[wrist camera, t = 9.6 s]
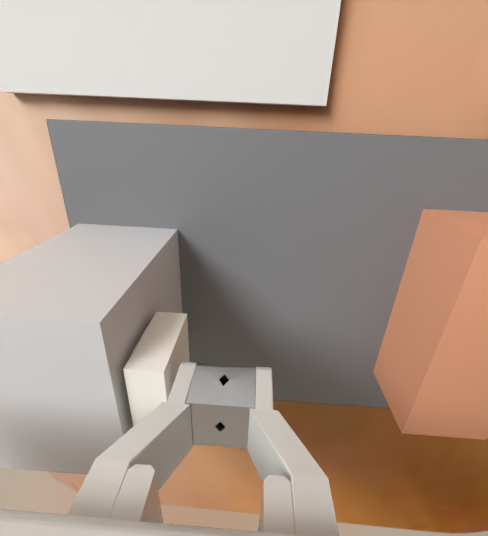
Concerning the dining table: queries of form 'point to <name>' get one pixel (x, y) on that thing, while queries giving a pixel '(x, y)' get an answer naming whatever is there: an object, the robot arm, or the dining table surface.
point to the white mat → (171, 49)
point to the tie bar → (156, 363)
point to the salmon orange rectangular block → (440, 330)
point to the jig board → (213, 267)
